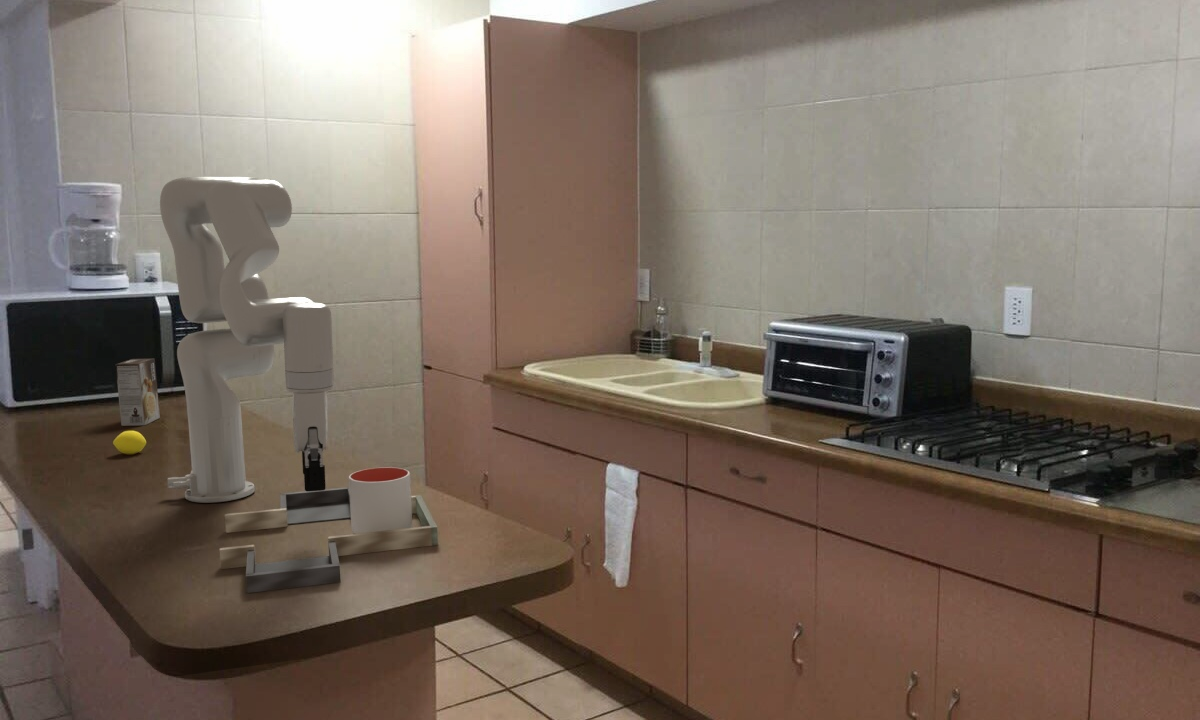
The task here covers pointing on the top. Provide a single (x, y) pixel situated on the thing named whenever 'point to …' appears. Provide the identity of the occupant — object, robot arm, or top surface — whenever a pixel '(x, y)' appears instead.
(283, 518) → the box
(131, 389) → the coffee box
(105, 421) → the top surface
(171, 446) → the top surface
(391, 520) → the cup
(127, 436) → the lemon
